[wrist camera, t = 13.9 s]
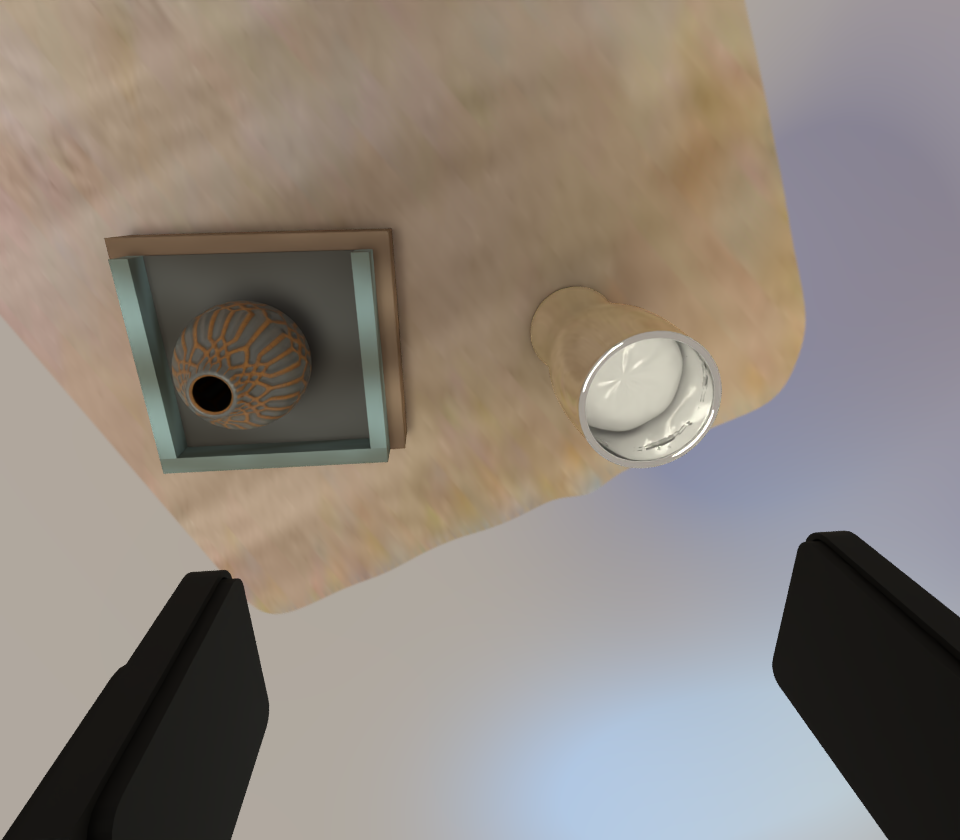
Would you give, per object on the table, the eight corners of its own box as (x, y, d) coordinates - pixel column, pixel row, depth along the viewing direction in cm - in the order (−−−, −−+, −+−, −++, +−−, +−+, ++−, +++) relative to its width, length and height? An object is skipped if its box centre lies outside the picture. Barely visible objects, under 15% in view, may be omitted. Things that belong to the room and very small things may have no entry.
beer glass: (599, 389, 41) (685, 488, 27) (509, 362, 39) (551, 451, 25) (638, 297, 38) (754, 353, 24) (544, 265, 37) (610, 305, 23)
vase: (320, 405, 36) (287, 466, 28) (208, 396, 35) (140, 456, 27) (322, 298, 33) (285, 330, 25) (201, 286, 33) (124, 314, 25)
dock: (130, 235, 34) (83, 240, 30) (391, 228, 35) (385, 232, 31) (180, 442, 40) (147, 474, 35) (406, 431, 41) (403, 461, 36)
